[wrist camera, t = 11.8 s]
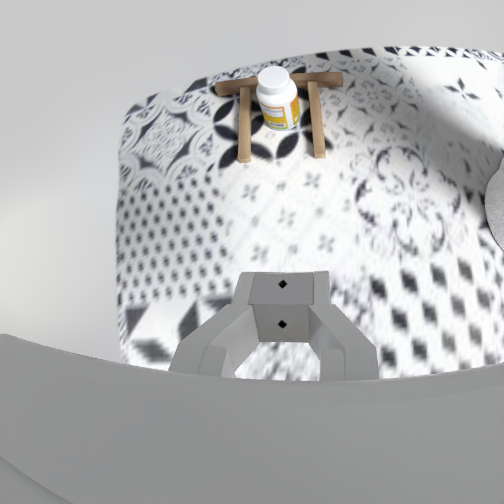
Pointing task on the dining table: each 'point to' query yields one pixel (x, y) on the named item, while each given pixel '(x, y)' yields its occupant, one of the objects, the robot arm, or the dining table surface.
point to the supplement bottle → (278, 98)
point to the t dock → (301, 81)
